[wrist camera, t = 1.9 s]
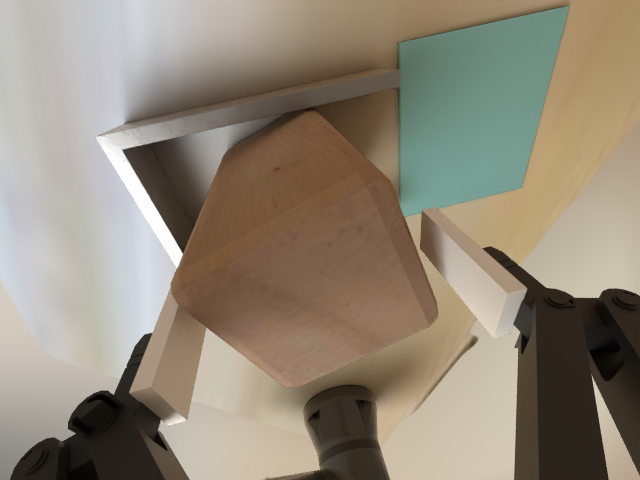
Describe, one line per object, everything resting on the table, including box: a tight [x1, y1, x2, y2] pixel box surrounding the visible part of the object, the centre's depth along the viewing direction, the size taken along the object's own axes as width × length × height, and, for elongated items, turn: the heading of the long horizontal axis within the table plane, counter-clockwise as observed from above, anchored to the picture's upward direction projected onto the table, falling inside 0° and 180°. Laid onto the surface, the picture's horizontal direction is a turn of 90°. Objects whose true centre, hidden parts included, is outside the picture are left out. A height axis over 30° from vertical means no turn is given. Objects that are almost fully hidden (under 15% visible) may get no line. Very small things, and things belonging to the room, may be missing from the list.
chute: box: [96, 68, 400, 267], centre depth 27 cm, size 15×23×5 cm, turn 100°
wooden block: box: [171, 107, 438, 387], centre depth 21 cm, size 10×10×20 cm
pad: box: [398, 6, 569, 217], centre depth 30 cm, size 18×16×1 cm
